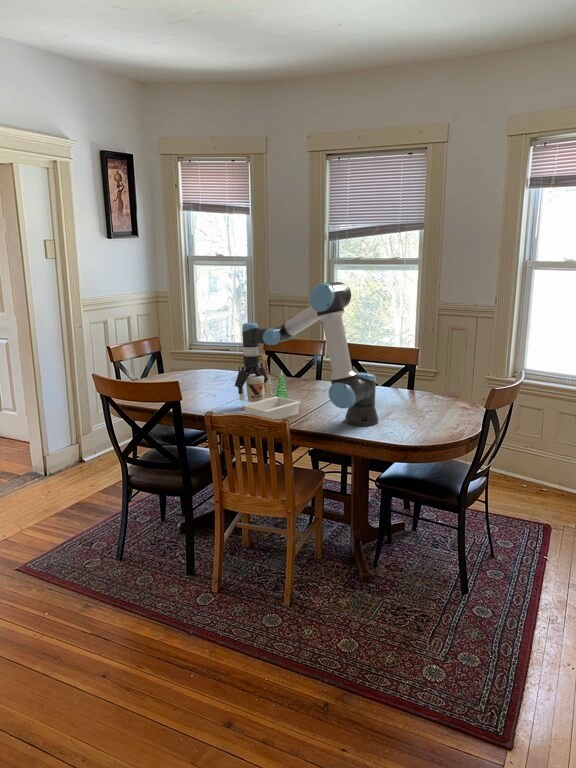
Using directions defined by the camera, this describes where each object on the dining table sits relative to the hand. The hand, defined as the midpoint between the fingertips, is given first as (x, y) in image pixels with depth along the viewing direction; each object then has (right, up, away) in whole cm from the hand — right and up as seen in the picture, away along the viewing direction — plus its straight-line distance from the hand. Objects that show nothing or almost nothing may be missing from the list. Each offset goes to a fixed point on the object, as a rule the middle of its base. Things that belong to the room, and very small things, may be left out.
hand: (252, 397), depth 282 cm
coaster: (0, -6, +1) cm, 6 cm away
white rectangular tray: (+10, -8, -11) cm, 17 cm away
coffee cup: (+2, -1, +2) cm, 3 cm away
